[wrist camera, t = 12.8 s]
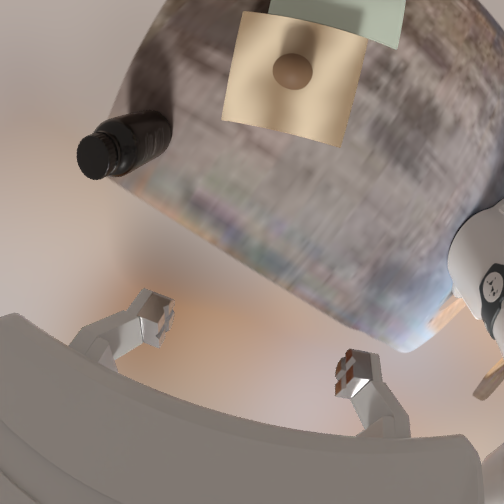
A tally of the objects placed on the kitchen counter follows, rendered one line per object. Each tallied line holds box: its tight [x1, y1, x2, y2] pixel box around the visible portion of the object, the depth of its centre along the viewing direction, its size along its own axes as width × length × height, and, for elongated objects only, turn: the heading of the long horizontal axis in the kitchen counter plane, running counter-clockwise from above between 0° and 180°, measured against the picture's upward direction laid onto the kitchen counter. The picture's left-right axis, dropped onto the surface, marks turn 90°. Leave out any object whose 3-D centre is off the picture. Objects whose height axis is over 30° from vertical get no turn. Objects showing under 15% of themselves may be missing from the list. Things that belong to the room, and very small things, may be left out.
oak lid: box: [221, 11, 368, 148], centre depth 20 cm, size 12×12×5 cm
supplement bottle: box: [77, 110, 171, 180], centre depth 27 cm, size 7×7×12 cm
